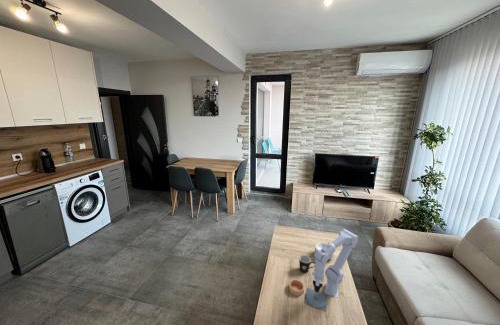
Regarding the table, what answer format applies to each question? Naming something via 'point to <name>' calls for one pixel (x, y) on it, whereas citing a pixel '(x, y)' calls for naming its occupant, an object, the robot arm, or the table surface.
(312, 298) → the lid
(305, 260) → the coffee mug
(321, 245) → the paper bowls
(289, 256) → the table surface
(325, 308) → the mat
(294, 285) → the bowl
